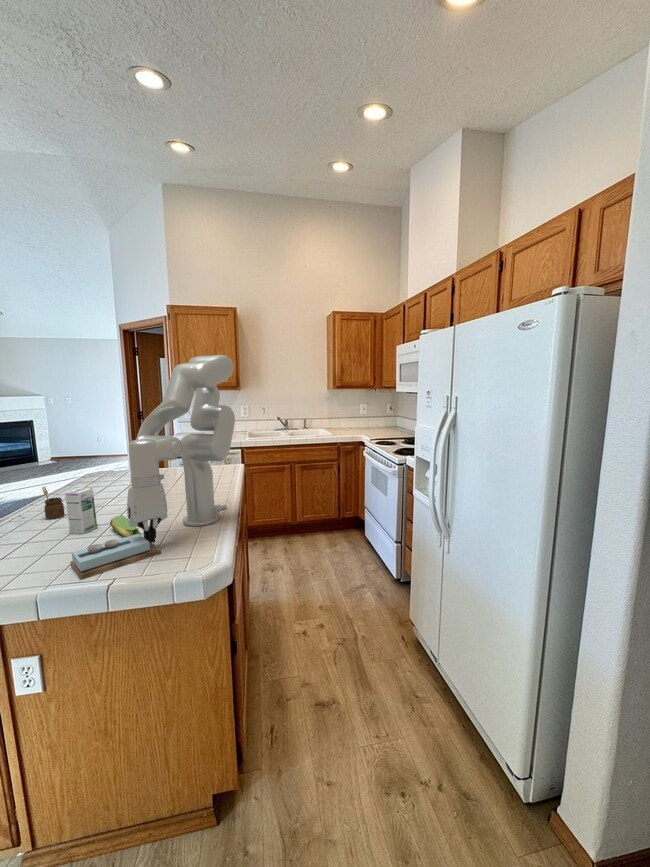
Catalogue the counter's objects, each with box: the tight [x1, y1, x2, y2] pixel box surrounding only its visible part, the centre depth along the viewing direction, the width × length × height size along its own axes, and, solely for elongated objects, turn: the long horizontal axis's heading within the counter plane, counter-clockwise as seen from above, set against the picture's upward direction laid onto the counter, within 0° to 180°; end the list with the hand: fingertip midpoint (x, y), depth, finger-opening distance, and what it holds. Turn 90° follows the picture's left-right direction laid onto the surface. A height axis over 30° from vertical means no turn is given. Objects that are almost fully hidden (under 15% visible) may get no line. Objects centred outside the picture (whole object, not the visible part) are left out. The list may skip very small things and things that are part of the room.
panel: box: [71, 534, 150, 571], centre depth 102 cm, size 17×9×2 cm, turn 135°
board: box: [69, 539, 162, 580], centre depth 103 cm, size 20×11×5 cm, turn 135°
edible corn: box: [109, 515, 142, 538], centre depth 122 cm, size 5×20×5 cm
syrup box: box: [64, 487, 98, 535], centre depth 125 cm, size 6×6×14 cm
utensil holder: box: [41, 486, 65, 520], centre depth 140 cm, size 6×6×12 cm
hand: (150, 541), depth 110 cm, fingers closed
